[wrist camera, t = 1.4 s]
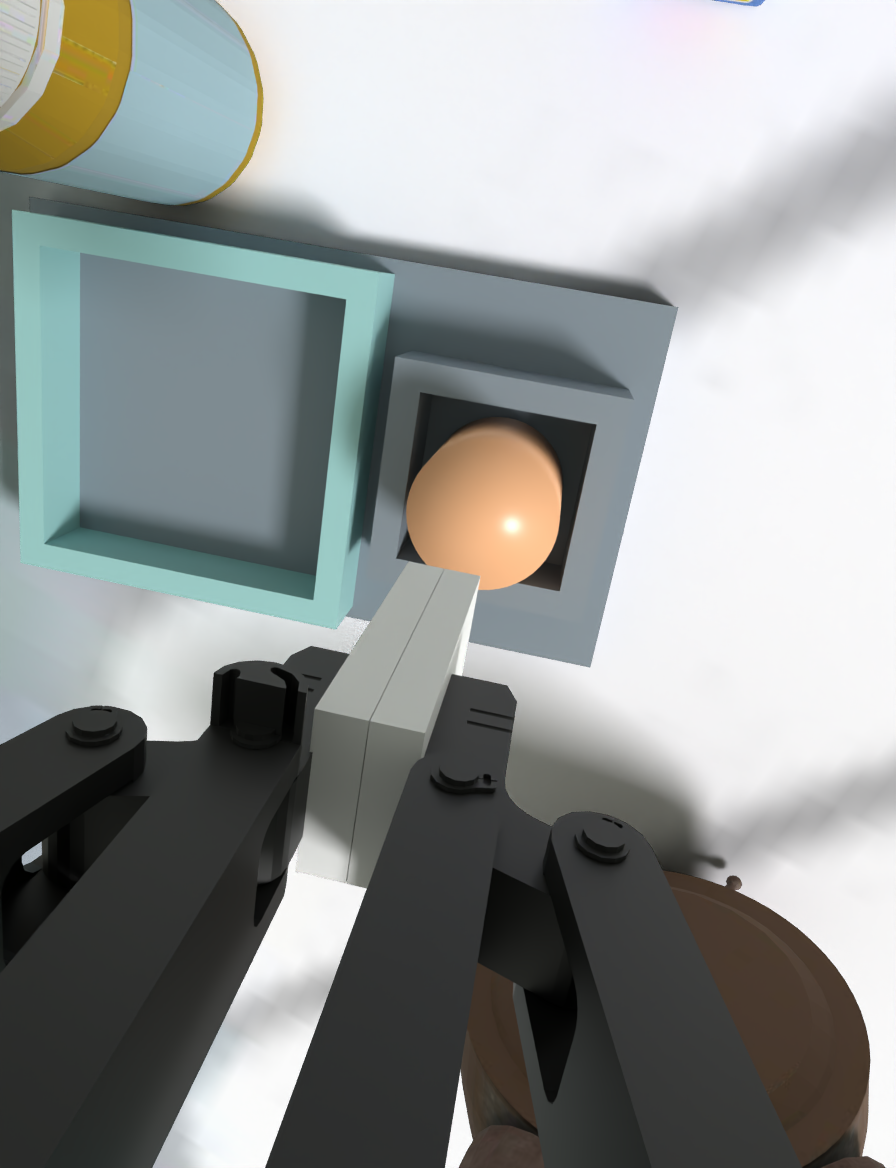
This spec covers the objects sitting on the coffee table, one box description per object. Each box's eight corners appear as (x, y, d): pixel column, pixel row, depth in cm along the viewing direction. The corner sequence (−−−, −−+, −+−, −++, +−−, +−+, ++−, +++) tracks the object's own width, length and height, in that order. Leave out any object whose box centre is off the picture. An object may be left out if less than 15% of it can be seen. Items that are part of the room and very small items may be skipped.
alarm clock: (486, 957, 41) (406, 1518, 22) (482, 832, 38) (390, 1343, 20) (797, 983, 39) (1000, 1632, 20) (814, 852, 36) (1062, 1449, 18)
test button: (443, 405, 30) (418, 427, 25) (575, 430, 29) (574, 456, 25) (423, 531, 32) (396, 573, 27) (548, 556, 31) (542, 603, 27)
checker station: (48, 199, 32) (-26, 187, 28) (674, 306, 30) (688, 309, 26) (52, 543, 37) (-11, 573, 33) (589, 655, 35) (590, 701, 31)
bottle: (154, 242, 32) (-180, 206, 18) (50, 59, 30) (-407, -139, 16) (305, 144, 30) (63, 16, 16) (202, -58, 28) (-168, -398, 14)
